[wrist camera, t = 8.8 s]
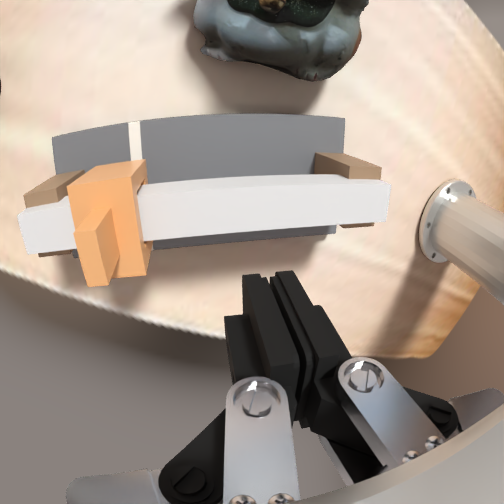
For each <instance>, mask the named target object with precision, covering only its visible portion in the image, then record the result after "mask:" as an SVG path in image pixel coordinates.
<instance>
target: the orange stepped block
mask: <svg viewBox="0 0 504 504" xmlns="http://www.w3.org/2000/svg"><path fill="white" fill-rule="evenodd" d="M146 184H148V178H147V167H146V159H141V160H133V161H126V162H119V163H112V164H106V165H99V166H95V167H94V168H92V169H91V170H89V171H88V172H86V173H85V174H84V175H82V176H81V177H79V178H78V179H76V180H75V181H74V182H72V183H71V184H69V185H68V186H67V191H68V197H69V202H70V208H71V213H72V218H73V222H74V227H75V231H74V233H73V235H74V239H75V243H76V247H77V251H78V254H79V258H80V262H81V265H82V269H83V272H84V276H85V279H86V282H87V286H88V287H94V286H106V285H109V283H110V280H111V278H122V277H133V276H144V275H146V274H147V269H148V264H149V259H150V254H151V249H152V244H153V240H151V241H144V240H143V233H142V227H141V220H140V213H139V206H138V198H137V191H138V189H139V187H140V185H146Z"/></svg>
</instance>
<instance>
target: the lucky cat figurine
mask: <svg viewBox="0 0 504 504" xmlns="http://www.w3.org/2000/svg"><path fill="white" fill-rule="evenodd" d="M368 1H369V0H197V4H196V6H195V9H194V14H193V17H194V24H195V28H197V29H198V30H200V31H201V33H202V34H203V35H204V36H205V38H206V43H205V45H204V46H203V47H202V48H201V49H200V50H201V52H202V53H203V54H206V55H208V56H211V57H213V58H216V59H218V60H225V61H245V62H251V63H258V64H261V65H264V66H267V67H270V68H273V69H276V70H279V71H281V72H284V73H287V74H289V75H291V76H294V77H296V78H298V79H303V80H307V81H321V80H324V79H328V78H330V77H331V76H333V75H334V74H335V73H337V72H338V71H339V70H341V69H342V68H343V67H344V66H345V65H346V63H347V62H348V61H349V60H350V59H351V58H352V57H353V56H354V54H355V53H356V51H357V49H358V46H359V44H360V41H361V29H360V22H359V17H360V14H361V11H364V8H365V7H366V6H367V5H368V4H369V2H368Z"/></svg>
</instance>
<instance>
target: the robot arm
mask: <svg viewBox="0 0 504 504" xmlns="http://www.w3.org/2000/svg"><path fill="white" fill-rule="evenodd" d="M419 242H420V247H421V250H422V252H423V254H424V255H425V256H426V257H427V258H428V259H430V260H431V261H433V262H435V263H442V262H446V261H448V260H449V261H450V262H451V263H453V264H454V265H455V266H457V267H458V268H459V269H461V270H462V271H463V272H464V273H466V274H467V275H468V276H470V277H471V278H472V279H473V280H475V281H476V282H477V283H478V284H479V285H481V286H482V287H483V288H484V289H486V290H487V291H488V292H489V293H491V294H492V295H493V296H494V297H495V298H496V299H498V300H499V301H500V302H501V303H502V304H503V305H504V213H503V212H501V211H499V210H497V209H495V208H493V207H491V206H490V205H488V204H486V203H484V202H482V201H480V200H478V199H476V195H475V193H474V190H473V188H472V187H471V186H470V185H469V184H468V183H466V182H464V181H462V180H459V179H453V180H449V181H447V182H445V183H443V184H442V185H441V186H440V187H439V188H438V189H437V190H436V191H435V192H434V193H433V195H432V196H431V198H430V199H429V201H428V203H427V205H426V207H425V209H424V212H423V215H422V218H421V223H420V229H419ZM242 292H243V315H233V316H224V323H225V336H226V345H227V353H228V359H229V365H230V371H231V377H232V383H233V386H232V387H231V388H230V390H229V391H228V394H227V398H226V409H224V410H223V411H222V413H221V414H219V416H217V417H216V419H214V420H213V421H212V422H211V423H210V424H209V425H208V426H207V427H206V428H205V429H204V430H203V431H202V432H201V433H200V434H199V435H198V436H197V437H196V438H195V439H194V440H193V441H191V442H190V443H189V444H188V445H187V446H186V447H185V448H184V449H183V450H182V451H181V452H180V453H178V454H177V455H176V456H175V457H174V458H173V459H172V460H171V461H169V462H168V463H167V464H166V465H165V467H164V468H161V469H156V470H151V471H149V470H148V469H141V470H135V471H130V472H122V473H115V474H107V475H97V476H86V477H80V478H76V479H75V480H73V481H72V482H71V483H70V484H69V486H68V488H67V490H66V501H67V504H504V395H503V393H502V392H500V391H499V390H497V389H494V388H488V389H485V390H481V391H478V392H474V393H471V394H467V395H463V396H459V397H454V398H450V400H449V401H448V402H447V401H445V400H442V399H440V398H437V397H433V396H430V395H426V394H424V393H421V392H417V391H414V390H411V389H408V388H405V387H402V386H401V385H400V384H399V383H398V382H397V381H396V379H395V378H394V377H393V376H392V375H391V374H390V373H389V371H388V370H387V369H386V368H385V367H384V366H383V365H382V364H381V363H379V362H378V361H376V360H373V359H371V358H366V357H356V358H352V357H351V355H350V353H349V351H348V350H347V348H346V346H345V345H344V343H343V341H342V340H341V338H340V336H339V334H338V333H337V331H336V329H335V328H334V326H333V324H332V323H331V321H330V319H329V318H328V316H327V314H326V313H325V311H324V309H323V308H322V307H321V306H320V305H315V306H313V304H312V303H311V301H310V299H309V297H308V296H307V294H306V292H305V290H304V289H303V287H302V285H301V283H300V282H299V280H298V278H297V276H296V275H295V273H294V272H293V271H292V270H291V271H281V272H276V273H275V276H273V277H270V284H269V283H268V280H267V278H266V277H263V278H261V276H260V274H249V275H243V276H242ZM298 420H299V422H300V425H301V428H307V427H310V430H311V431H312V432H314V433H316V434H318V437H319V440H320V442H321V444H322V446H323V447H324V449H325V451H326V452H327V454H328V456H329V457H330V459H331V461H332V462H333V464H334V466H335V467H336V469H337V471H338V472H339V474H340V476H341V477H342V479H343V481H344V482H345V484H346V485H347V487H345V488H341V489H338V490H335V491H332V492H328V493H325V494H321V495H318V496H314V497H310V498H307V499H303V500H300V494H299V485H298V477H297V468H296V461H295V454H294V453H295V452H294V444H293V437H292V426H293V421H298Z"/></svg>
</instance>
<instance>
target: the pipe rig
mask: <svg viewBox="0 0 504 504" xmlns="http://www.w3.org/2000/svg"><path fill="white" fill-rule="evenodd" d="M344 131H345V118H338V117H326V116H313V115H295V114H212V115H194V116H181V117H169V118H160V119H151V120H143V121H135V122H128V123H121V124H115V125H109V126H103V127H98V128H92V129H87V130H82V131H78V132H73V133H68V134H64V135H60V136H56V137H52V145H53V154H54V162H55V170H56V175H55V176H53V177H52V178H50V179H48V180H47V181H45V182H43V183H42V184H40V185H39V186H37V187H35V188H34V189H32V190H31V191H29V192H28V193H26V194H25V195H24V200H25V205H26V209H25V210H23V211H22V212H21V213H19V214H18V215H17V218H18V222H19V226H20V229H21V233H22V237H23V240H24V244H25V247H26V250H27V254H36V253H38V255H39V257H45V256H54V255H63V254H71V252H73V256H74V258H79V254H78V251H77V247H76V243H75V239H74V235H73V233H74V231H75V227H74V222H73V218H72V213H71V208H70V202H69V197H68V191H67V186H68V185H69V184H71V183H72V182H74V181H75V180H76V179H78V178H79V177H81V176H82V175H84V174H85V173H86V172H88V171H89V170H91V169H92V168H94V167H95V166H99V165H106V164H112V163H119V162H126V161H133V160H141V159H146V167H147V178H148V184H146V185H140V187H139V189H138V191H137V198H138V206H139V213H140V220H141V227H142V233H143V240H144V241H151V240H153V244H152V249H151V251H152V250H157V249H168V248H178V247H188V246H199V245H209V244H220V243H231V242H242V241H253V240H264V239H276V238H287V237H299V236H311V235H323V234H335V233H336V226H337V225H340V226H341V227H342V228H354V227H368V226H374V222H386V217H387V211H388V205H389V198H390V191H391V184H389V183H386V182H384V181H382V180H380V178H381V169H382V167H379V166H376V165H374V164H371V163H369V162H366V161H363V160H360V159H358V158H355V157H352V156H349V155H346V154H344V153H343V149H344Z"/></svg>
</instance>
